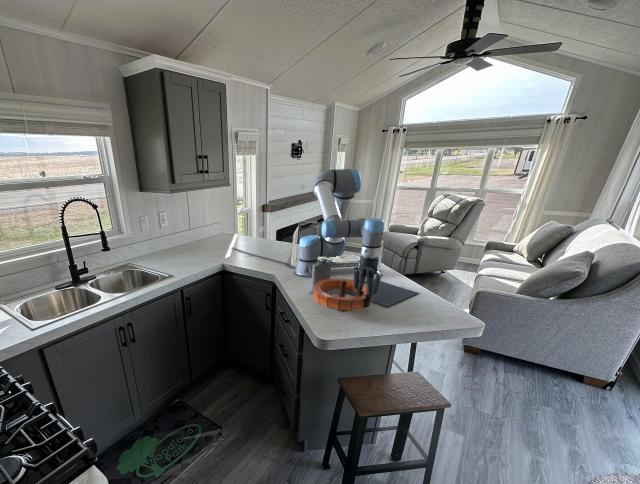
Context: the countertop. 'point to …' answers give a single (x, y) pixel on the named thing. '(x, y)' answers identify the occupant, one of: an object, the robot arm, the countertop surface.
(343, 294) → the post
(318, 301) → the ring
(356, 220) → the robot arm
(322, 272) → the grey flat box
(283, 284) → the countertop surface
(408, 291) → the mat
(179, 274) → the countertop surface
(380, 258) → the coffeecake box
